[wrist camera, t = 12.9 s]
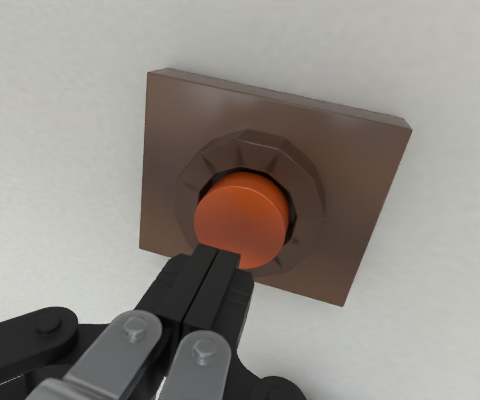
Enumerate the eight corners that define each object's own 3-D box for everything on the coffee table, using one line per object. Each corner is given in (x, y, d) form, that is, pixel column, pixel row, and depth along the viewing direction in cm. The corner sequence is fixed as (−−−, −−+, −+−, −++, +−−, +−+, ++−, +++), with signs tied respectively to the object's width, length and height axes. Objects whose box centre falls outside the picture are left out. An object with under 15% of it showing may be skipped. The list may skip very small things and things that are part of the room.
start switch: (166, 67, 19) (126, 75, 15) (404, 118, 17) (422, 141, 13) (155, 230, 23) (122, 266, 20) (342, 282, 22) (343, 332, 18)
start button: (211, 162, 16) (198, 175, 15) (298, 183, 16) (295, 200, 14) (201, 236, 18) (188, 255, 17) (279, 257, 18) (274, 279, 16)
